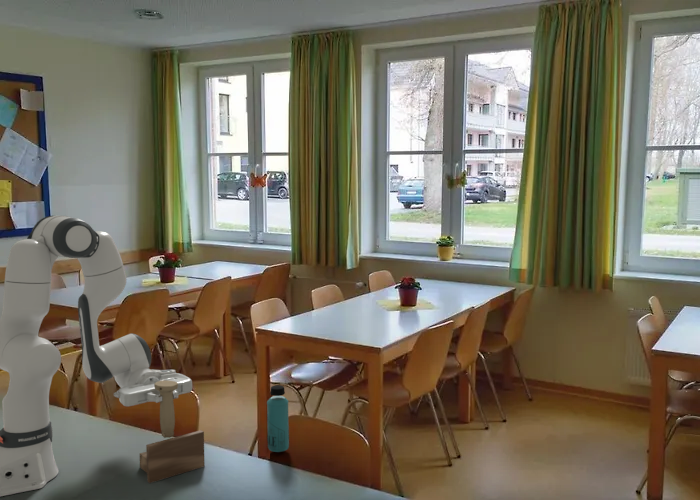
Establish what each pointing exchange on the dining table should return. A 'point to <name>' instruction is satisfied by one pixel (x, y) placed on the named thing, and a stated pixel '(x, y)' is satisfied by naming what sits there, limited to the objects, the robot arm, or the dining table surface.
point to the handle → (166, 406)
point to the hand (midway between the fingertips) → (168, 397)
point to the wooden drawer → (173, 456)
